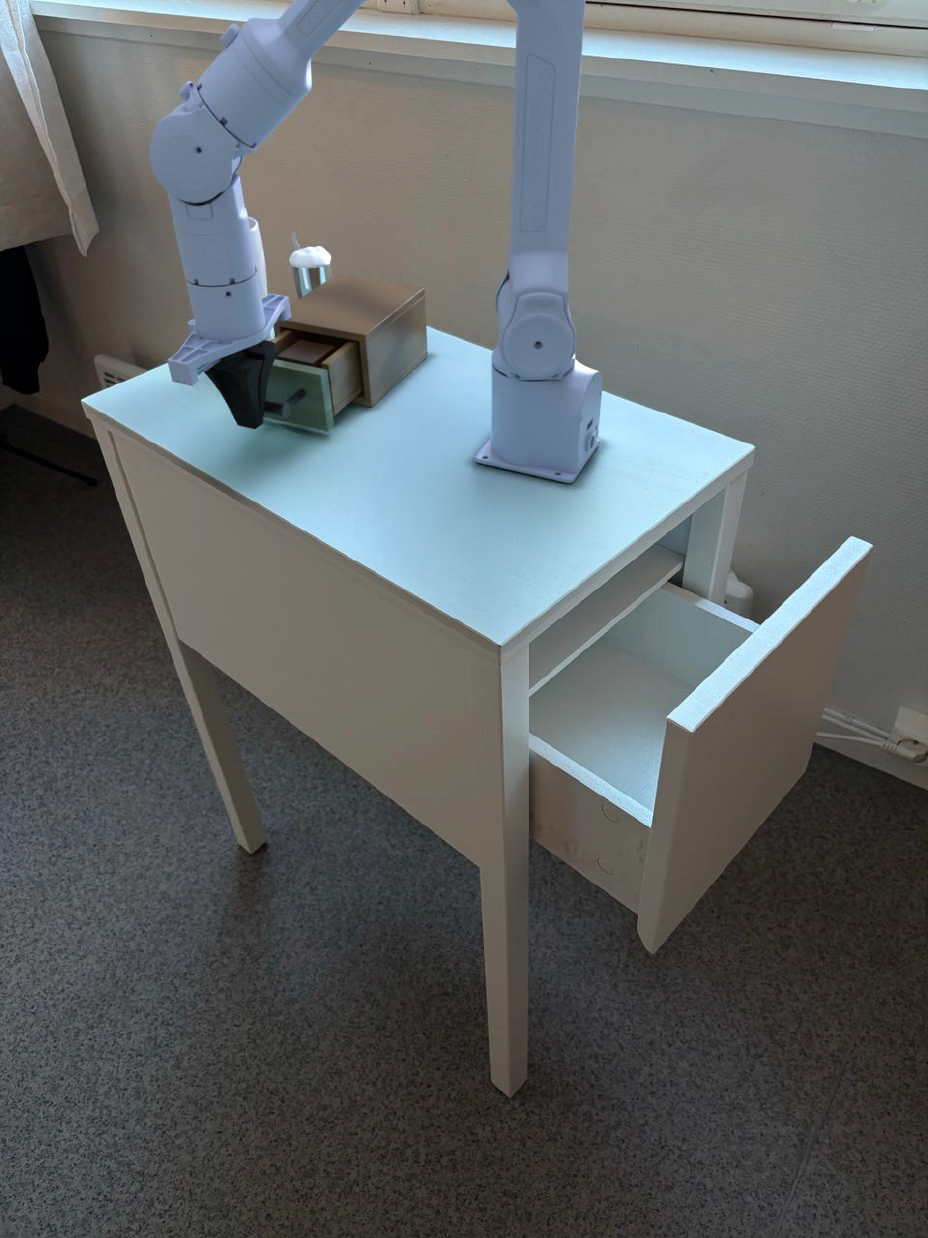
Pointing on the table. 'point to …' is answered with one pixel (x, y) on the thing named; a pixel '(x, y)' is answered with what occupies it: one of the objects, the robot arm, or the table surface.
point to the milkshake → (309, 267)
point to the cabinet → (368, 326)
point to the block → (307, 353)
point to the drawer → (313, 382)
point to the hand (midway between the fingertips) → (250, 424)
